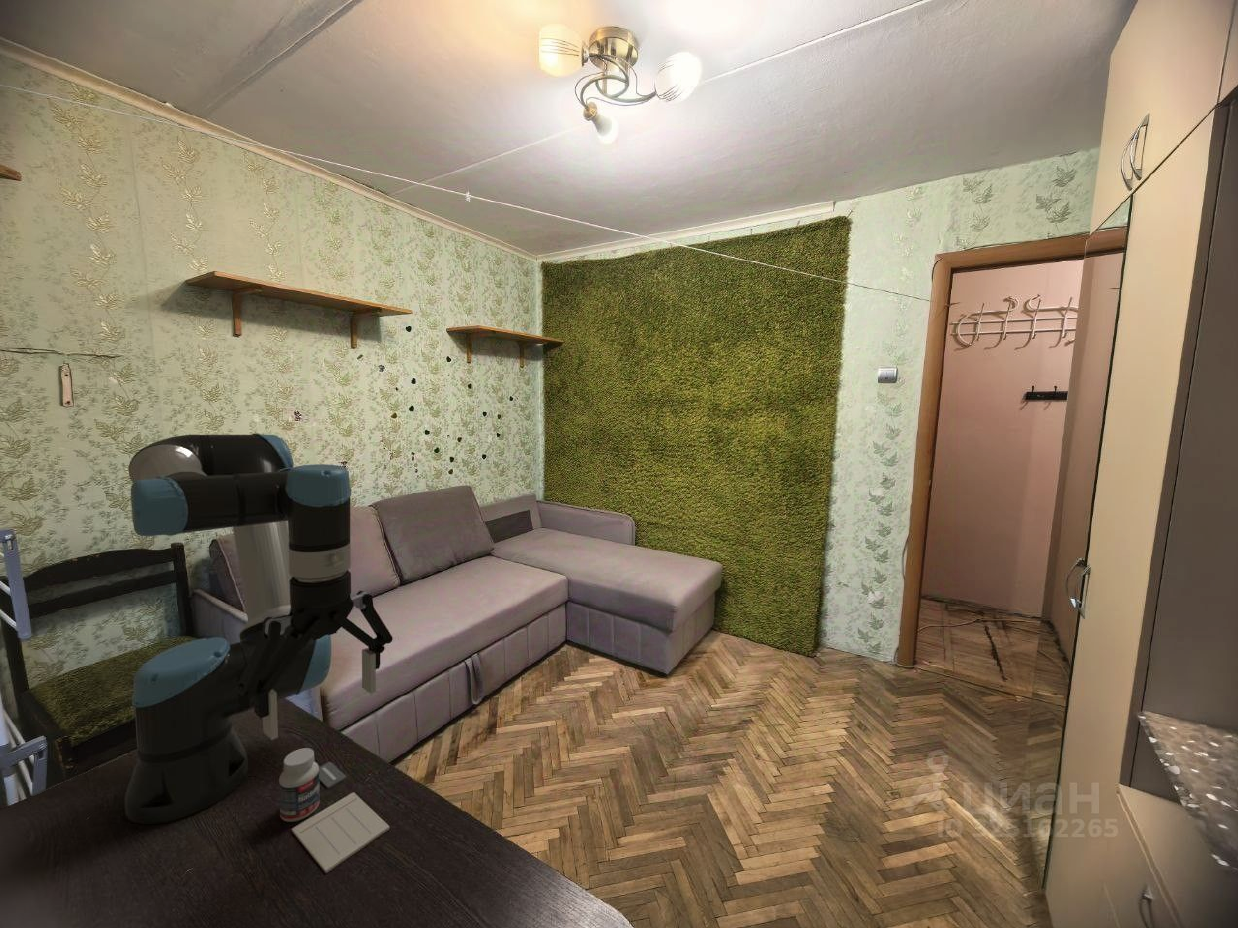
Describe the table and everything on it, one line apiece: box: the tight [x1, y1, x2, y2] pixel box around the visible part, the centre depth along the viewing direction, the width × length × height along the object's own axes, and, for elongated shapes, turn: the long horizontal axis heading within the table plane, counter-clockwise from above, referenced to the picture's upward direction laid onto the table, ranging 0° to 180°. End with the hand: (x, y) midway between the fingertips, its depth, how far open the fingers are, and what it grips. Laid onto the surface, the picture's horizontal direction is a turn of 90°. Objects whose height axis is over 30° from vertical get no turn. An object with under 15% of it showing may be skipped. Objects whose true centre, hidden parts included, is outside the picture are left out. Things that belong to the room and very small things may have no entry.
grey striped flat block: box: [319, 761, 348, 789], centre depth 84 cm, size 6×3×1 cm, turn 54°
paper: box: [291, 792, 390, 874], centre depth 73 cm, size 11×9×1 cm
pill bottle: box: [278, 747, 321, 823], centre depth 76 cm, size 5×5×9 cm
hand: (323, 710), depth 72 cm, fingers open, 13 cm apart
